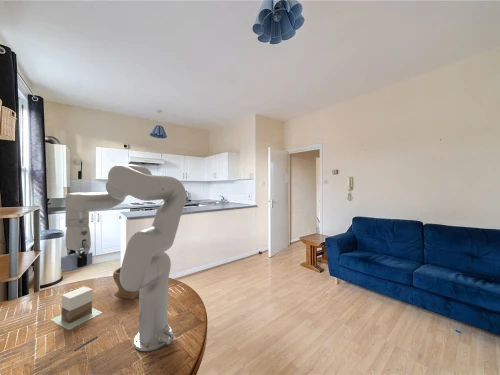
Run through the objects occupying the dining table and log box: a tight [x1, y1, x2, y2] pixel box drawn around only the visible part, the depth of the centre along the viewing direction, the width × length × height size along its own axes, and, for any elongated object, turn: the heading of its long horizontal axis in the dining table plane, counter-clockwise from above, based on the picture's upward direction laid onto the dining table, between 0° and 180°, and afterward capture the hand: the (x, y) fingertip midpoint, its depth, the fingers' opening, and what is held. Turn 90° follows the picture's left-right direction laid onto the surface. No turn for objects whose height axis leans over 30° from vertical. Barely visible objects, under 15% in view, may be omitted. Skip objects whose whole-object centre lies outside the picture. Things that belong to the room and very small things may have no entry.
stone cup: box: [112, 266, 140, 300], centre depth 103 cm, size 15×12×15 cm
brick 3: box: [60, 300, 93, 324], centre depth 86 cm, size 6×8×5 cm
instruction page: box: [73, 336, 99, 352], centre depth 74 cm, size 9×7×1 cm
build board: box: [50, 307, 103, 331], centre depth 86 cm, size 14×12×1 cm
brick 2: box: [61, 286, 93, 311], centre depth 86 cm, size 6×8×5 cm
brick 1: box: [60, 251, 93, 272], centre depth 86 cm, size 6×8×5 cm
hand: (77, 264), depth 86 cm, fingers closed on brick 1, 6 cm apart
